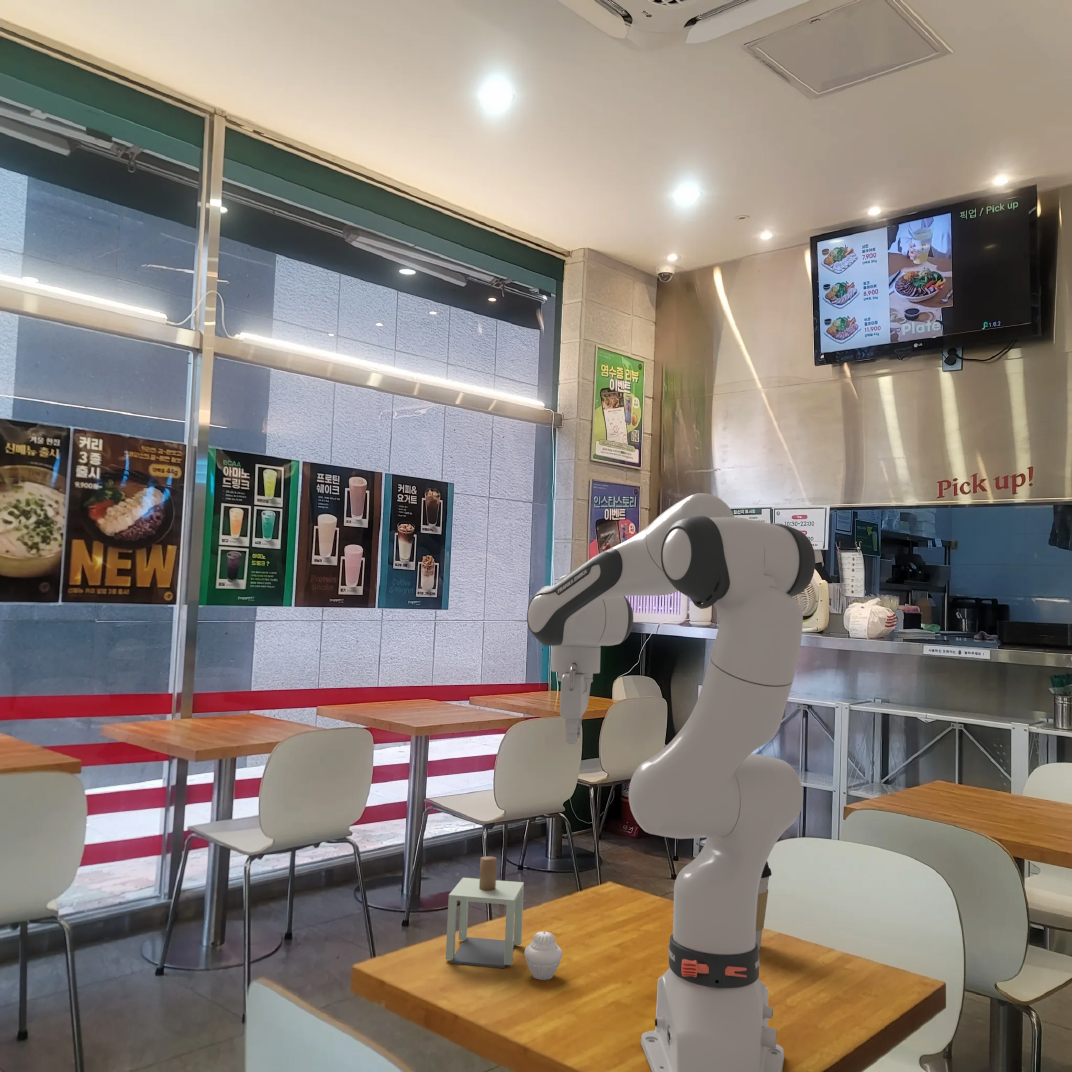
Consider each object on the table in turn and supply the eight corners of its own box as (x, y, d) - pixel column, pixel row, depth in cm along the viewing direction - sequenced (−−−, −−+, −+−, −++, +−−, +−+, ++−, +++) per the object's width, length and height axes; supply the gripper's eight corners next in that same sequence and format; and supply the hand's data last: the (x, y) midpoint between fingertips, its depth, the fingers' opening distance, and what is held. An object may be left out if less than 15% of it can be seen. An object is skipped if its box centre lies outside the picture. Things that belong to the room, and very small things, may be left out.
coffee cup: (722, 933, 172) (724, 851, 173) (775, 943, 168) (776, 858, 169) (708, 949, 163) (710, 862, 165) (764, 959, 159) (765, 870, 160)
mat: (504, 968, 150) (504, 965, 150) (450, 963, 151) (450, 960, 151) (515, 943, 162) (515, 941, 162) (465, 939, 163) (465, 936, 163)
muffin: (554, 967, 151) (555, 923, 152) (567, 981, 145) (568, 936, 146) (518, 970, 149) (520, 926, 150) (530, 985, 143) (532, 938, 144)
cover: (511, 965, 150) (515, 868, 152) (445, 959, 152) (450, 863, 153) (521, 943, 161) (525, 853, 163) (460, 937, 163) (464, 848, 164)
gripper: (590, 665, 156) (587, 748, 154) (595, 662, 176) (593, 735, 174) (553, 663, 156) (550, 746, 155) (562, 661, 177) (560, 734, 175)
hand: (573, 740), depth 165 cm, fingers open, 8 cm apart
